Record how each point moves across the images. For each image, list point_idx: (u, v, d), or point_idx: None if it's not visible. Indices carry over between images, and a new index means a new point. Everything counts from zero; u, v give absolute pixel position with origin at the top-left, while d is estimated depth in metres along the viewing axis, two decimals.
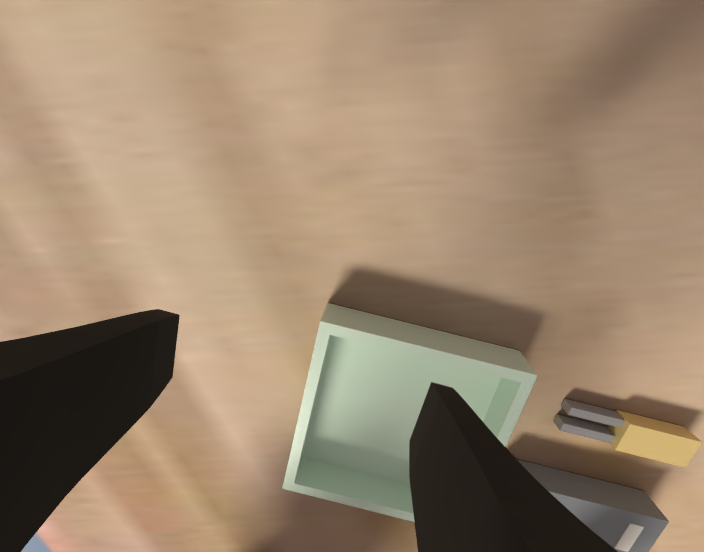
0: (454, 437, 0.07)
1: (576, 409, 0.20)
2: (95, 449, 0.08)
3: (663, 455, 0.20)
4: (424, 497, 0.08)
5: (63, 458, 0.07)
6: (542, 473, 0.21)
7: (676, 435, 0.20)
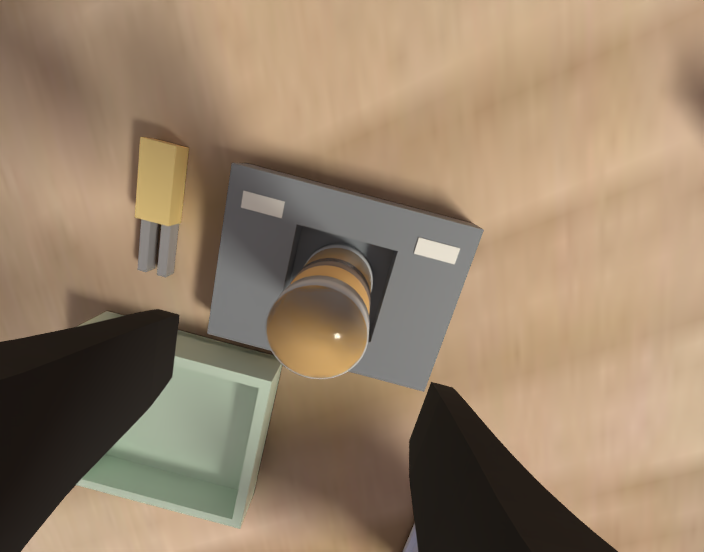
0: (454, 437, 0.07)
1: (139, 264, 0.20)
2: (95, 449, 0.08)
3: (164, 174, 0.18)
4: (424, 497, 0.08)
5: (63, 458, 0.07)
6: None
7: (139, 165, 0.18)
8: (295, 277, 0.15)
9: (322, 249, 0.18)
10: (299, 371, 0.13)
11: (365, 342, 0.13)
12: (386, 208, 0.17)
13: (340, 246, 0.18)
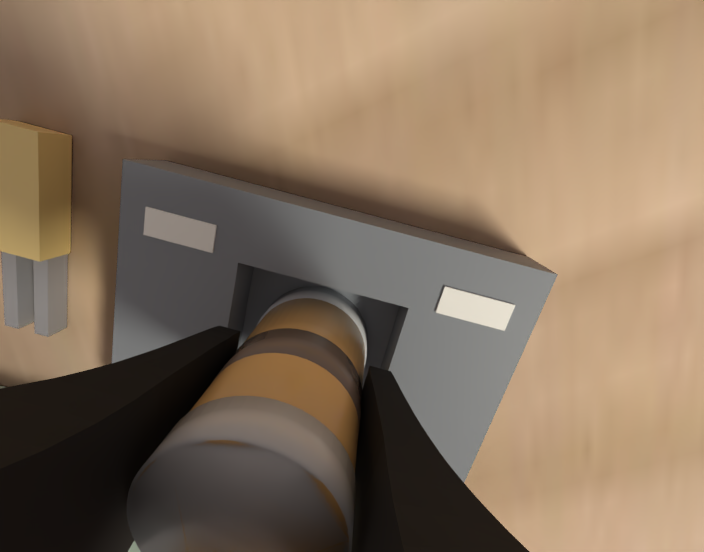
0: (374, 416, 0.07)
1: (7, 317, 0.13)
2: None
3: (24, 179, 0.11)
4: None
5: None
6: None
7: None
8: (220, 372, 0.08)
9: (285, 300, 0.11)
10: None
11: None
12: (389, 237, 0.10)
13: (314, 295, 0.11)
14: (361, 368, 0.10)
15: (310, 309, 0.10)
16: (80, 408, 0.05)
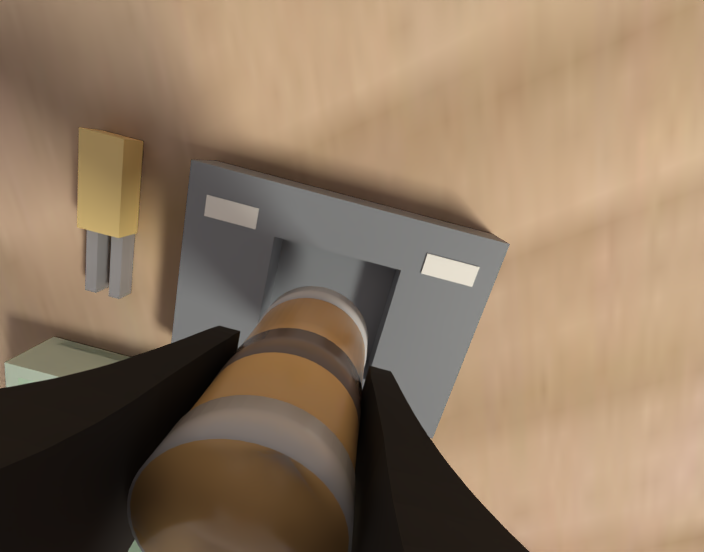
0: (374, 416, 0.07)
1: (87, 283, 0.16)
2: None
3: (111, 174, 0.14)
4: None
5: None
6: None
7: (79, 163, 0.14)
8: (220, 372, 0.08)
9: (285, 300, 0.11)
10: None
11: None
12: (386, 217, 0.13)
13: (314, 295, 0.11)
14: (361, 368, 0.10)
15: (310, 309, 0.10)
16: (80, 408, 0.05)
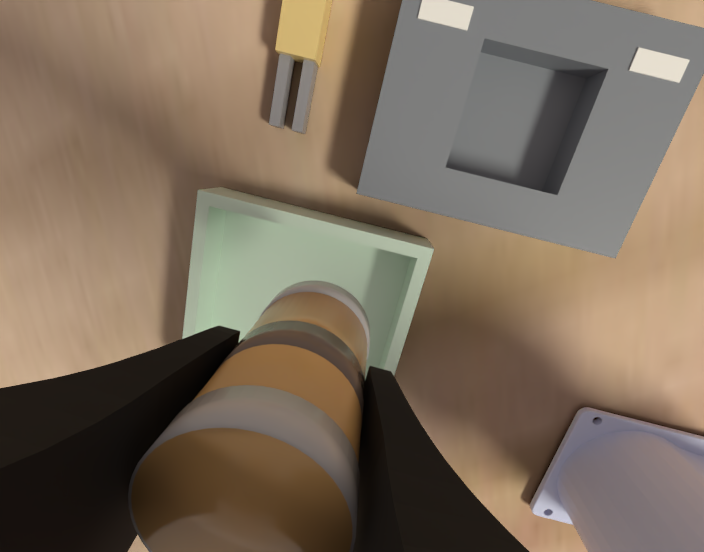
0: (374, 416, 0.07)
1: (271, 117, 0.17)
2: None
3: None
4: None
5: None
6: None
7: None
8: (226, 360, 0.08)
9: (291, 292, 0.11)
10: None
11: (347, 551, 0.06)
12: (601, 9, 0.14)
13: (321, 290, 0.11)
14: (364, 366, 0.10)
15: (317, 303, 0.10)
16: (80, 408, 0.05)
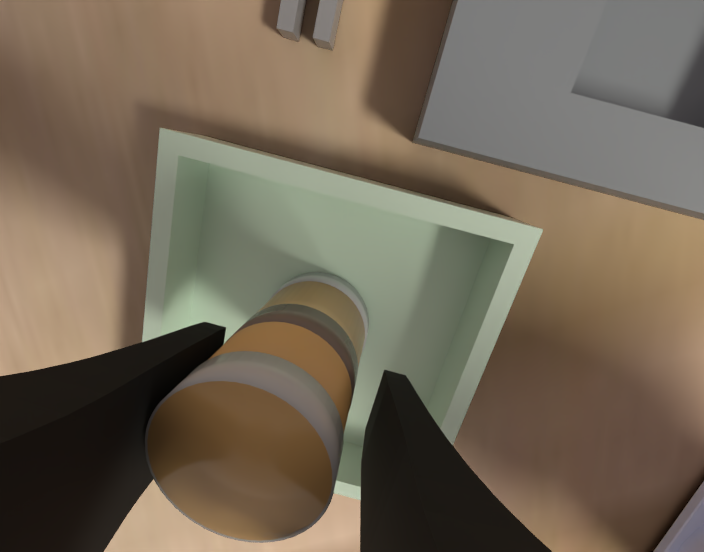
0: (393, 421, 0.07)
1: (281, 16, 0.11)
2: None
3: None
4: (369, 482, 0.08)
5: (129, 476, 0.07)
6: (437, 59, 0.11)
7: None
8: (232, 335, 0.09)
9: (295, 281, 0.12)
10: (205, 522, 0.07)
11: (327, 496, 0.07)
12: None
13: (323, 280, 0.12)
14: (359, 349, 0.11)
15: (318, 291, 0.11)
16: (52, 400, 0.05)
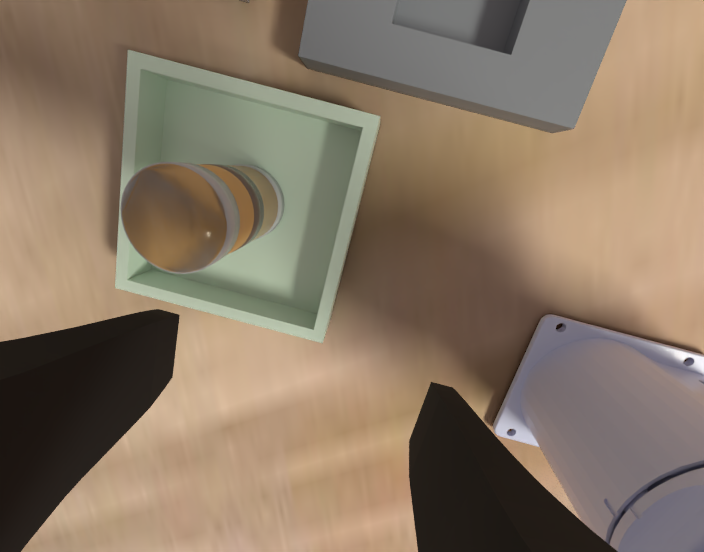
0: (454, 437, 0.07)
1: None
2: (96, 449, 0.08)
3: None
4: (424, 497, 0.08)
5: (63, 458, 0.07)
6: None
7: None
8: None
9: None
10: (157, 263, 0.12)
11: (225, 234, 0.12)
12: None
13: (247, 165, 0.17)
14: (267, 202, 0.16)
15: (241, 166, 0.16)
16: None
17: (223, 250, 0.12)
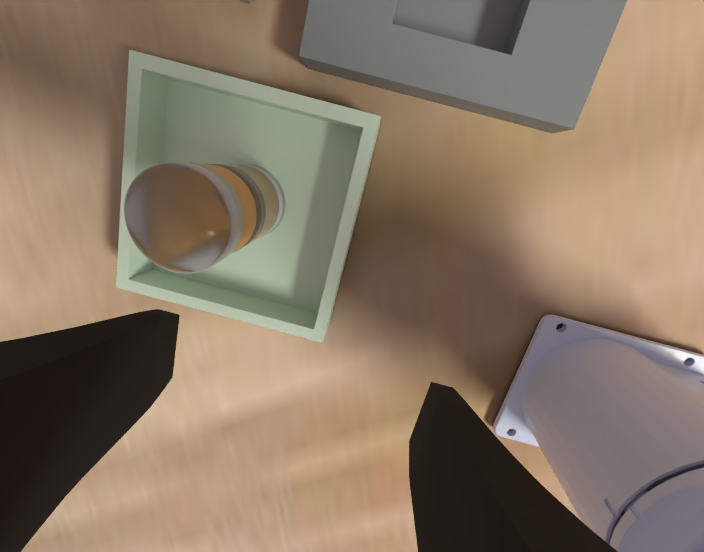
0: (454, 437, 0.07)
1: None
2: (95, 449, 0.08)
3: None
4: (424, 497, 0.08)
5: (63, 458, 0.07)
6: None
7: None
8: None
9: None
10: (161, 263, 0.12)
11: (229, 233, 0.12)
12: None
13: (248, 165, 0.17)
14: (269, 202, 0.16)
15: (242, 166, 0.16)
16: None
17: (227, 250, 0.12)
